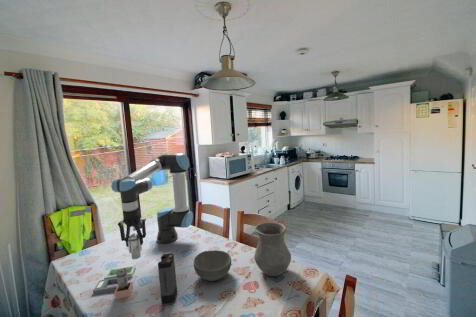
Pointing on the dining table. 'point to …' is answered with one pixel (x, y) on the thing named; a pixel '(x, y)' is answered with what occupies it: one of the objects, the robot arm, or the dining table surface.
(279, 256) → the vase
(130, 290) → the orange open box
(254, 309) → the dining table surface
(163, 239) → the robot arm
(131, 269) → the trough
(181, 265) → the dining table surface
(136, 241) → the cell
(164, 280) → the electronic device
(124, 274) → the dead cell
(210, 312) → the dining table surface
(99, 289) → the cradle
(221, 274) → the bowl
